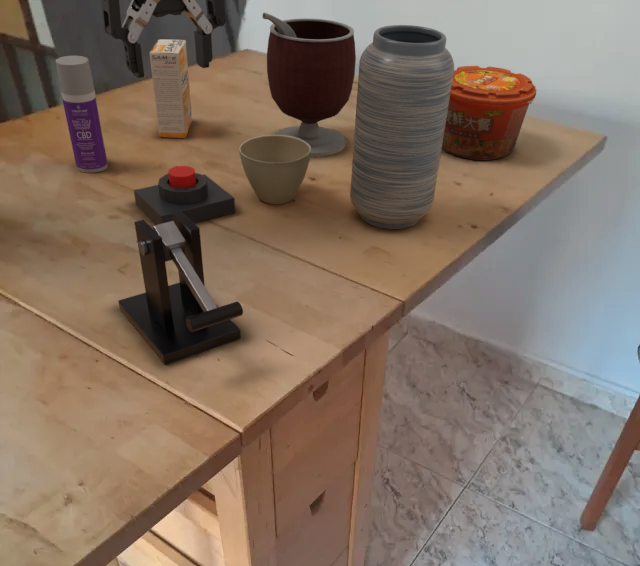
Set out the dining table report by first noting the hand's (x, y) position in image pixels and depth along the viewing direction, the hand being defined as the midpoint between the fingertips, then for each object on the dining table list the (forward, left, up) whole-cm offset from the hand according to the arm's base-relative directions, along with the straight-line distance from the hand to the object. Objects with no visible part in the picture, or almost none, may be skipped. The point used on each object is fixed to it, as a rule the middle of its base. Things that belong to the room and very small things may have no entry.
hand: (171, 71), depth 84 cm
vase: (+24, -15, -18) cm, 34 cm away
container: (-6, +21, -18) cm, 28 cm away
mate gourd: (+28, +13, -18) cm, 36 cm away
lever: (-13, -28, -11) cm, 33 cm away
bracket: (-13, -24, -18) cm, 33 cm away
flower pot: (+13, -2, -18) cm, 23 cm away
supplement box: (+12, +29, -18) cm, 36 cm away
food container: (+53, -2, -18) cm, 56 cm away
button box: (0, +1, -18) cm, 18 cm away
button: (0, +1, -14) cm, 14 cm away
